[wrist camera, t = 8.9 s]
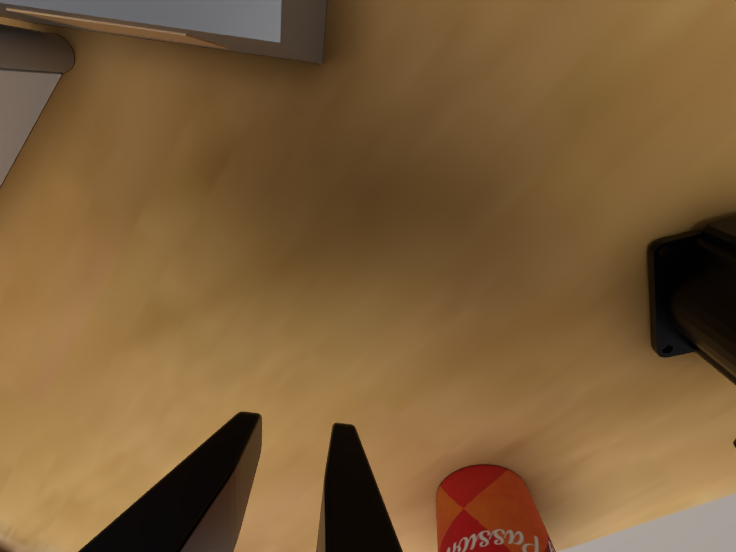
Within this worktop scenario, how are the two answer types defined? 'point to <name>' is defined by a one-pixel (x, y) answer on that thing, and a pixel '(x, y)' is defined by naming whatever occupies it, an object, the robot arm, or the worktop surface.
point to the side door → (26, 84)
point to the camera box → (192, 22)
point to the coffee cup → (488, 513)
